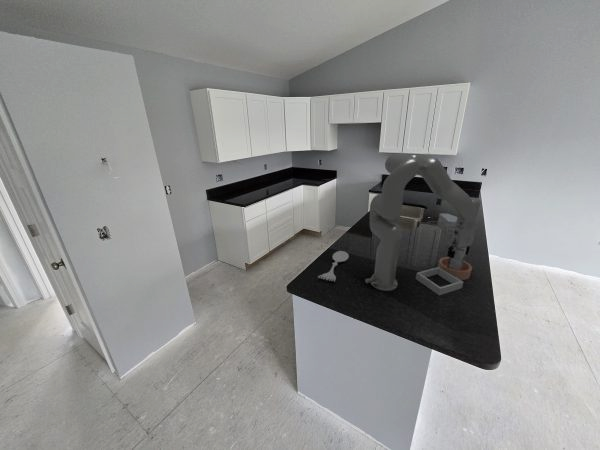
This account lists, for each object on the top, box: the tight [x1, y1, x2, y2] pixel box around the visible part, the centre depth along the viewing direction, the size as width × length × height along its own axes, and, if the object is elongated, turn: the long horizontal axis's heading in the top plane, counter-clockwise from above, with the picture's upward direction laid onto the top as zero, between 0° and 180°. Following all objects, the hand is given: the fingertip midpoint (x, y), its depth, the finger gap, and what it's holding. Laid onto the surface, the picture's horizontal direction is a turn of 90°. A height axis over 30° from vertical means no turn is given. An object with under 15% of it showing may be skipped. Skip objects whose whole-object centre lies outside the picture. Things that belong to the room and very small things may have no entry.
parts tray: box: [415, 266, 464, 296], centre depth 121 cm, size 14×14×4 cm
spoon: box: [317, 250, 350, 283], centre depth 136 cm, size 9×32×4 cm, turn 156°
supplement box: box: [437, 213, 457, 235], centre depth 179 cm, size 17×13×9 cm
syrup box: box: [447, 246, 467, 271], centre depth 127 cm, size 6×6×14 cm
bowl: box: [437, 256, 473, 281], centre depth 130 cm, size 14×14×4 cm
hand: (457, 255), depth 127 cm, fingers open, 9 cm apart
